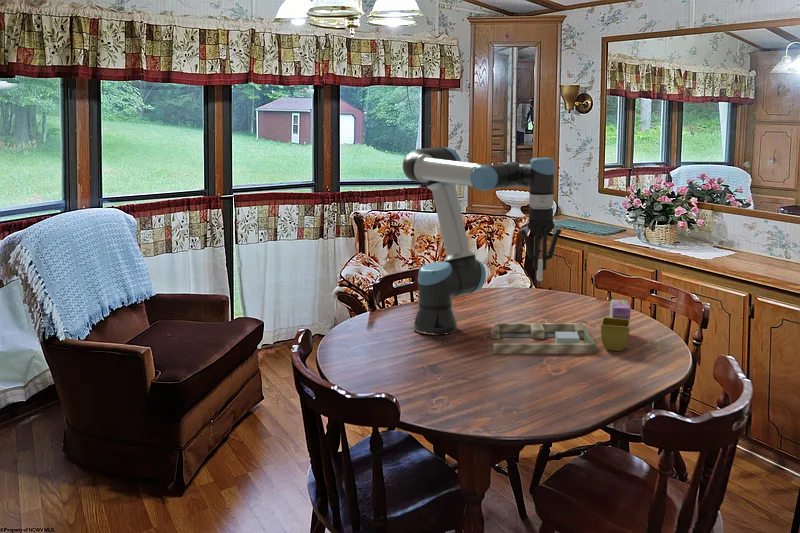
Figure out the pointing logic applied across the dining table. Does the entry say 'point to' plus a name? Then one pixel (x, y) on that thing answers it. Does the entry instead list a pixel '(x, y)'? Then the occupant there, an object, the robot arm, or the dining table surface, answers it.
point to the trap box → (540, 333)
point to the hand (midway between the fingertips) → (539, 279)
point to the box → (620, 310)
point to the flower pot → (614, 333)
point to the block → (566, 338)
